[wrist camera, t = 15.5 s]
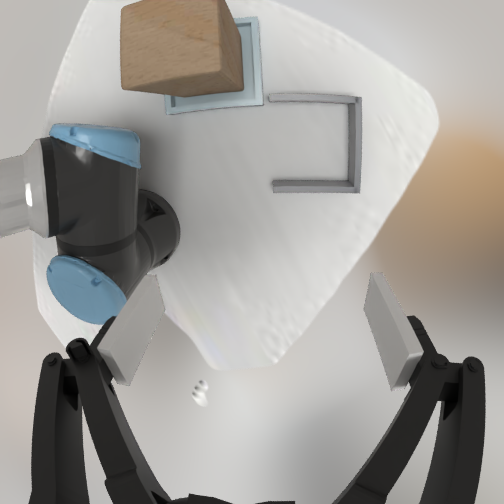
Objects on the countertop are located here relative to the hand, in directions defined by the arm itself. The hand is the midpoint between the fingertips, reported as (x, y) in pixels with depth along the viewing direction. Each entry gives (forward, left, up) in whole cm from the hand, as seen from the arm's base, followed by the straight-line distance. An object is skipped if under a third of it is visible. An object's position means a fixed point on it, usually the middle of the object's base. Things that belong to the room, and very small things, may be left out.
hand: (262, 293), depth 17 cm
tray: (-8, +20, -32) cm, 38 cm away
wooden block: (-8, +19, -31) cm, 38 cm away
